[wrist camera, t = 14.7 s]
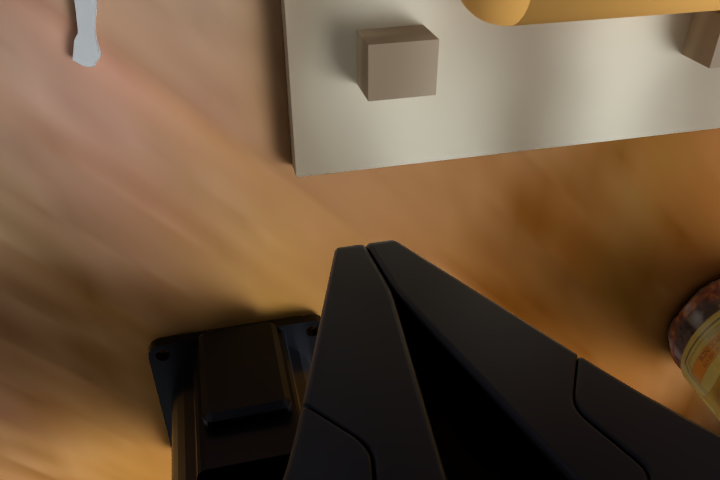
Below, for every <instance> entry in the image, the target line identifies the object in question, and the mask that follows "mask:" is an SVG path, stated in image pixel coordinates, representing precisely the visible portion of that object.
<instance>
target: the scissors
mask: <svg viewBox="0 0 720 480" xmlns="http://www.w3.org/2000/svg"><path fill="white" fill-rule="evenodd" d="M74 1H75V9H76V18H77V27H78V33H77V35H76V37H75V40H74V50H73V59H72V60H73V61H75V62H77V63H79V64H81V65H82V66H87V67H94V66H95V64H96V63H97V61H98V59H99V58H100V56H101V50H100V47H99V44H98V41H97V36H96V28H95V25H96V12H97V0H74Z"/></svg>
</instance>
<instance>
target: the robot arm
mask: <svg viewBox="0 0 720 480" xmlns="http://www.w3.org/2000/svg"><path fill="white" fill-rule="evenodd" d="M311 326H316V327H315V328H314V329H311V330H310V329H308V328H309V327H311ZM161 350H166V351H168V352H166V353H159V352H158V351H161ZM149 361H150V364H151V368H152V372H153V376H154V380H155V384H156V388H157V392H158V396H159V400H160V404H161V408H162V412H163V416H164V419H165V423H166V427H167V431H168V435H169V439H170V443H171V447H172V480H720V435H718V434H716V433H715V432H713V431H711V430H709V429H707V428H705V427H703V426H701V425H699V424H697V423H695V422H693V421H691V420H689V419H687V418H686V417H684V416H682V415H680V414H678V413H676V412H675V411H673V410H671V409H669V408H667V407H665V406H663V405H662V404H660V403H658V402H656V401H654V400H652V399H651V398H649V397H647V396H645V395H643V394H642V393H640V392H638V391H636V390H635V389H633V388H631V387H630V386H628V385H626V384H625V383H623V382H621V381H620V380H618V379H616V378H615V377H613V376H611V375H610V374H608V373H606V372H605V371H603V370H601V369H600V368H598V367H597V366H595V365H593V364H592V363H590V362H589V361H587V360H585V359H584V358H578V360H577V354H575V353H574V352H572V351H571V350H569V349H567V348H566V347H564V346H563V345H561V344H559V343H558V342H556V341H555V340H553V339H551V338H550V337H548V336H547V335H545V334H543V333H542V332H540V331H539V330H537V329H535V328H534V327H532V326H531V325H529V324H528V323H526V322H524V321H523V320H521V319H520V318H518V317H516V316H515V315H513V314H512V313H510V312H508V311H507V310H505V309H504V308H502V307H500V306H499V305H497V304H496V303H494V302H492V301H491V300H489V299H488V298H486V297H484V296H483V295H481V294H480V293H478V292H476V291H475V290H473V289H472V288H470V287H468V286H467V285H465V284H464V283H462V282H460V281H459V280H457V279H456V278H454V277H452V276H451V275H449V274H448V273H446V272H444V271H443V270H441V269H440V268H438V267H436V266H435V265H433V264H432V263H430V262H428V261H427V260H425V259H424V258H422V257H420V256H419V255H417V254H416V253H414V252H412V251H411V250H409V249H408V248H406V247H404V246H403V245H401V244H400V243H398V242H396V241H393V240H390V241H383V242H376V243H370V244H368V245H367V246H366V247H365V246H363V245H354V246H347V247H340V248H337V249H336V250H335V253H334V258H333V262H332V267H331V272H330V277H329V281H328V286H327V291H326V295H325V300H324V305H323V310H322V314H321V317H320V316H318V315H315V314H310V315H304V316H297V317H291V318H285V319H278V320H272V321H266V322H259V323H253V324H247V325H240V326H234V327H227V328H221V329H215V330H208V331H202V332H196V333H189V334H183V335H176V336H170V337H164V338H159V339H156V340H154V341H153V342H152V343H151V344H150V346H149Z"/></svg>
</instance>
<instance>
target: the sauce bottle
mask: <svg viewBox="0 0 720 480" xmlns="http://www.w3.org/2000/svg"><path fill="white" fill-rule="evenodd" d="M668 339H669V342H670V344H669V346H670V350H671V355H672V357H673V360H674V361H675V363H676V364H677V365H678V367H679V368H680V369H681V370H682V373H683V375H684V377H685V379H686V380H687V381H688V382H689V384H690V385H691V386H692V387H693V389H694V390H695V391H696V392H697V394H698V395H699V396H700V397H701V399H702V400H703V401H704V402H705V404H706V405H707V406H708V407H709V408H710V410H711V411H712V412H713V413H714V414H715V416H716V417H717V418H718V419H719V421H720V278H719V279H718V280H716V281H713V282H710V283H709V284H708V285H707V286H705V287H703V288H701V289H699V291H698V292H697V293H696V294H695V295H694V296H693V297H692V298H691V299H690V300H689V301H688V303H687V304H686V305H685V306H684V307H683V308H682V309H681V311H680V312H679V314H678V315H677V316H676V317H675V318H674V319H673V321H672V323H671V324H670V326H669V332H668Z"/></svg>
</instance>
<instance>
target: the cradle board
mask: <svg viewBox="0 0 720 480" xmlns="http://www.w3.org/2000/svg"><path fill="white" fill-rule="evenodd" d="M281 8H282V22H283V36H284V50H285V65H286V79H287V93H288V107H289V122H290V136H291V150H292V164H293V169H294V172H295V175H296V177H303V176H312V175H320V174H329V173H337V172H346V171H354V170H363V169H372V168H380V167H389V166H397V165H406V164H414V163H423V162H432V161H440V160H449V159H457V158H466V157H474V156H483V155H492V154H500V153H509V152H517V151H526V150H534V149H543V148H552V147H560V146H569V145H577V144H586V143H594V142H603V141H612V140H620V139H629V138H637V137H646V136H654V135H663V134H672V133H680V132H689V131H697V130H706V129H715V128H720V10H717V11H704V12H691V13H677V14H664V15H651V16H637V17H624V18H611V19H598V20H584V21H571V22H558V23H544V24H531V25H518V26H498V25H494V24H491V23H487V22H484V21H482V20H480V19H479V18H477V17H475V16H474V15H473V14H472V13H471V12H470V11H469V10H467V9H466V7H465V6H464V4H463V3H462V1H461V0H281Z"/></svg>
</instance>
